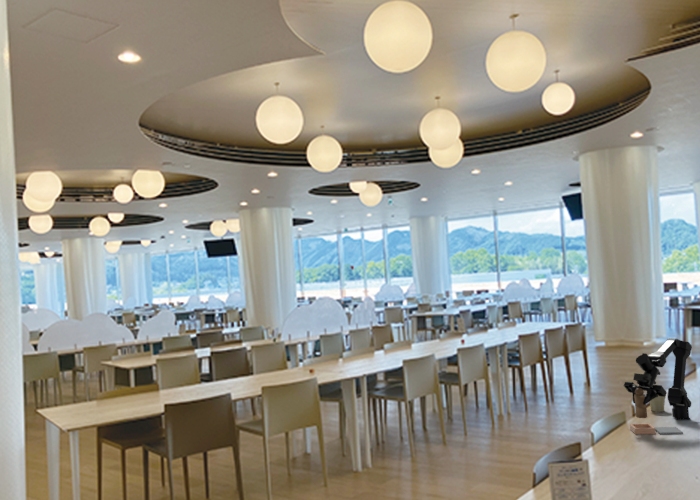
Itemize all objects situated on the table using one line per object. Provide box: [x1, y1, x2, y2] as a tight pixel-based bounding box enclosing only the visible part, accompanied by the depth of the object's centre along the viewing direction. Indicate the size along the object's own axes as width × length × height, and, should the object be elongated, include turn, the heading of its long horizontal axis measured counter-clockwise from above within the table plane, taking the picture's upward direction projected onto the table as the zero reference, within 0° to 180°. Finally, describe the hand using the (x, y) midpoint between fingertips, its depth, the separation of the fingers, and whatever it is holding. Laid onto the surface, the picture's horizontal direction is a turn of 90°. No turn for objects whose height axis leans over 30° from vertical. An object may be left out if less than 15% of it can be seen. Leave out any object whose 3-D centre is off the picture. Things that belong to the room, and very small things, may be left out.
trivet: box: [653, 426, 684, 435], centre depth 281 cm, size 10×10×1 cm
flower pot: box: [648, 395, 666, 413], centre depth 322 cm, size 9×9×9 cm
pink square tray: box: [629, 423, 657, 435], centre depth 284 cm, size 9×9×2 cm
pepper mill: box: [634, 388, 648, 419], centre depth 284 cm, size 5×5×14 cm
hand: (638, 403), depth 284 cm, fingers closed on pepper mill, 5 cm apart
